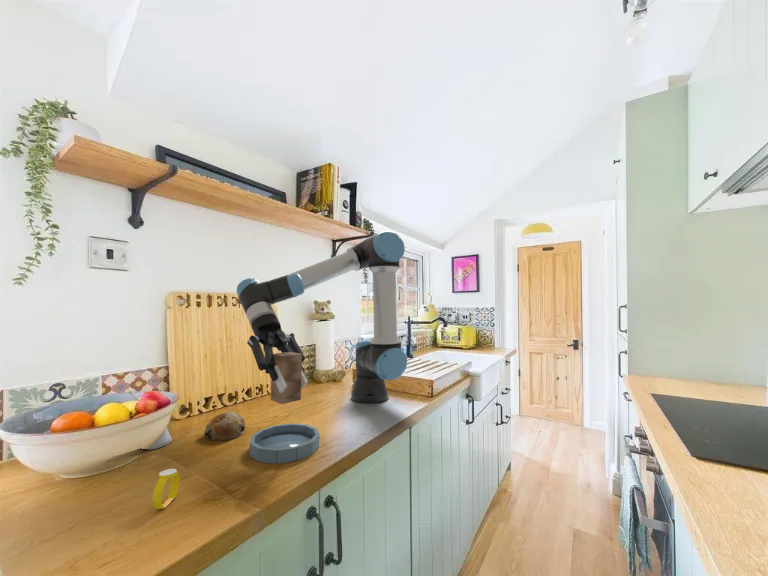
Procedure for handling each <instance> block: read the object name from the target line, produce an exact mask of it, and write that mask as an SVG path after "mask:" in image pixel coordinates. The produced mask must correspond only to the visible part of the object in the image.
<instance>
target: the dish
mask: <svg viewBox="0 0 768 576" xmlns="http://www.w3.org/2000/svg"><path fill="white" fill-rule="evenodd" d="M249 439H250V440H249V441H250V442H249V457H250V456H251V457H250V458H252V459H254V460H255V461H257V462H258V461H259V463H267V464H284V463H291V462H296V461H300V460H302V459H304V458H307V457H309V456H312V455H313V454H314V453H315V452H316V451H317V449H319V447H320V433H319V430H318V428H317V427H314V426H312V425H309V424H308V423H307V424H305V423H293V422H292V423H284V424H282V423H281V424H274V425H273V426H268V427H265V428H263V429H259V430H258V431H257V432H255V433H254V434H253V435H251V436H250V438H249Z"/></svg>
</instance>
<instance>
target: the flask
mask: <svg viewBox="0 0 768 576" xmlns="http://www.w3.org/2000/svg"><path fill="white" fill-rule="evenodd" d="M172 441H173V439H172V436H171V434H170V431H169V429H168V427H166V429H165V430H164V432H163V433H162V435H161V436H160V437H159V438H158V439H157V440H156V441H155V442H154V443H153V444H152V445H151V446H150V447H149V448H148V449H147V450H156V449H159V448H162V447H165V446H168V445H169V444H170V443H171V442H172Z"/></svg>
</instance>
